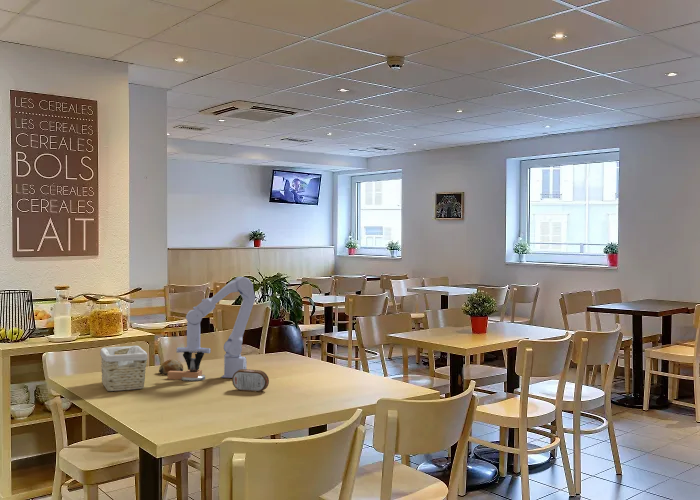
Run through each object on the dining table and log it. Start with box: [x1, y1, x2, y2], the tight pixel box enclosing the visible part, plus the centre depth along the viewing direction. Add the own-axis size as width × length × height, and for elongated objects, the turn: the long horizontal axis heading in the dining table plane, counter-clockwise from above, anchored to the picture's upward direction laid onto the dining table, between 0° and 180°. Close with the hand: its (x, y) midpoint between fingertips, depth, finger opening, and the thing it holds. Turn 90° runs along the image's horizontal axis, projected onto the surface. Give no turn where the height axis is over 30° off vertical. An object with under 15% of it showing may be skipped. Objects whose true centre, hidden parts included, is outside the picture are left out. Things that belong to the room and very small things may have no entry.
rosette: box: [180, 374, 206, 382], centre depth 285 cm, size 10×10×1 cm
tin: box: [231, 368, 270, 393], centre depth 263 cm, size 15×3×8 cm, turn 74°
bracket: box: [167, 369, 203, 380], centre depth 285 cm, size 14×6×3 cm, turn 84°
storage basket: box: [99, 345, 148, 392], centre depth 271 cm, size 24×16×15 cm
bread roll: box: [158, 358, 184, 376], centre depth 298 cm, size 10×10×8 cm
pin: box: [190, 357, 197, 372], centre depth 285 cm, size 3×3×7 cm
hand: (193, 369), depth 285 cm, fingers closed on pin, 3 cm apart
